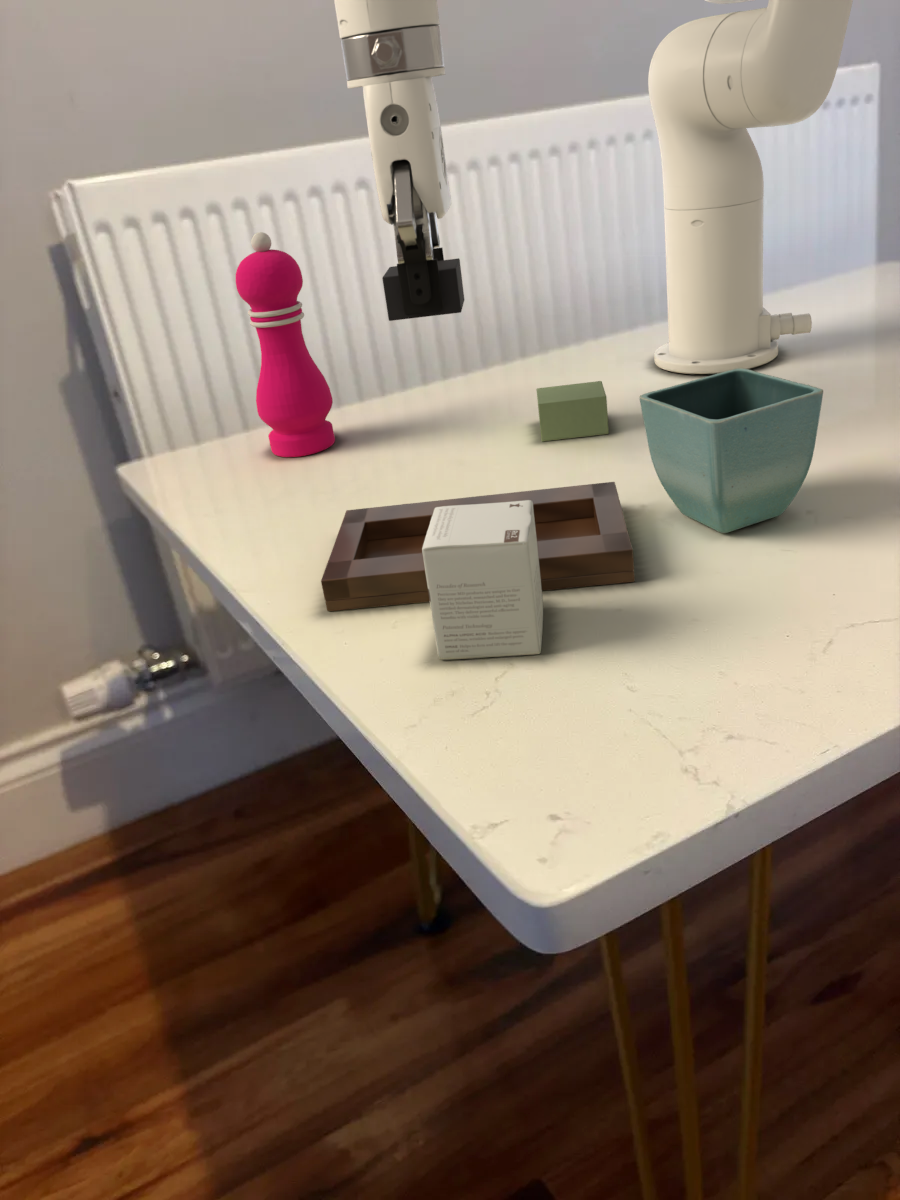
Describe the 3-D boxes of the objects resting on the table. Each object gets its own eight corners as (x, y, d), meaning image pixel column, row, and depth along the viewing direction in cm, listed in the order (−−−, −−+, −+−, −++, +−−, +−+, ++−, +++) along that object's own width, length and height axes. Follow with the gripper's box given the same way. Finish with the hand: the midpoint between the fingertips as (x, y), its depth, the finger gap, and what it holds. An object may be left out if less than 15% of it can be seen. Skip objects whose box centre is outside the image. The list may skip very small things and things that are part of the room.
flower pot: (641, 513, 75) (635, 393, 71) (741, 482, 77) (741, 365, 73) (715, 553, 67) (712, 422, 63) (823, 518, 70) (827, 389, 66)
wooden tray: (616, 510, 76) (614, 481, 75) (634, 582, 65) (633, 549, 64) (351, 537, 78) (346, 509, 77) (327, 612, 67) (320, 580, 66)
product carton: (448, 612, 65) (432, 505, 61) (544, 606, 64) (533, 496, 61) (437, 662, 59) (419, 547, 56) (542, 656, 59) (530, 538, 55)
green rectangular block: (604, 417, 96) (601, 380, 94) (608, 434, 91) (606, 395, 90) (539, 424, 96) (536, 388, 95) (541, 441, 92) (537, 403, 90)
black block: (464, 300, 88) (459, 258, 86) (461, 312, 83) (456, 268, 82) (395, 308, 88) (389, 266, 87) (388, 321, 84) (381, 277, 82)
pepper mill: (327, 457, 96) (283, 234, 87) (255, 461, 98) (205, 243, 89) (349, 432, 102) (310, 221, 93) (281, 436, 104) (237, 230, 95)
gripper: (434, 51, 69) (466, 322, 78) (450, 55, 85) (475, 281, 93) (326, 67, 70) (369, 333, 78) (361, 68, 85) (394, 291, 94)
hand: (426, 302), depth 85 cm, fingers closed on black block, 5 cm apart
